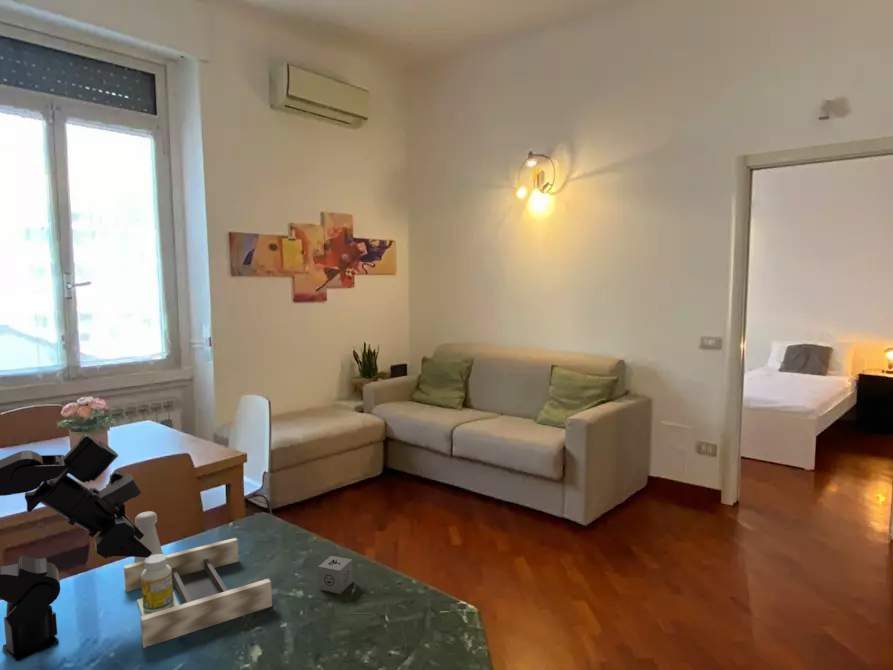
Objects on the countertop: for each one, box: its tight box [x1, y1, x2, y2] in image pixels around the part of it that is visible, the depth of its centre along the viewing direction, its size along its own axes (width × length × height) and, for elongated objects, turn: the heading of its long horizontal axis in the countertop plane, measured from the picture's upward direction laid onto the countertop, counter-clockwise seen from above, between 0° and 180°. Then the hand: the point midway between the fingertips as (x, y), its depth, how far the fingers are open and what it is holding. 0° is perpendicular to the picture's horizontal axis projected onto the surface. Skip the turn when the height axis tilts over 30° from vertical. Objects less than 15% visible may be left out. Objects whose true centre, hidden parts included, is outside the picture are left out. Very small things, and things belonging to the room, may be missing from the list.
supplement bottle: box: [141, 553, 174, 613], centre depth 116 cm, size 5×5×10 cm
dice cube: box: [317, 555, 354, 595], centre depth 124 cm, size 5×5×5 cm
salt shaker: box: [133, 510, 164, 563], centre depth 130 cm, size 6×6×13 cm
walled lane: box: [123, 537, 273, 649], centre depth 120 cm, size 22×24×5 cm
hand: (146, 545), depth 114 cm, fingers open, 9 cm apart
